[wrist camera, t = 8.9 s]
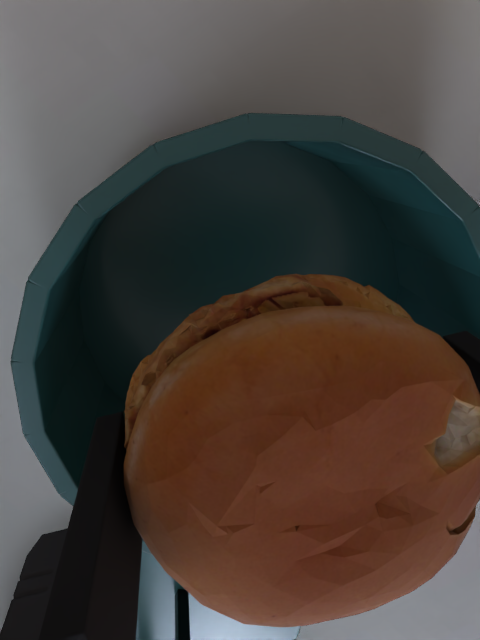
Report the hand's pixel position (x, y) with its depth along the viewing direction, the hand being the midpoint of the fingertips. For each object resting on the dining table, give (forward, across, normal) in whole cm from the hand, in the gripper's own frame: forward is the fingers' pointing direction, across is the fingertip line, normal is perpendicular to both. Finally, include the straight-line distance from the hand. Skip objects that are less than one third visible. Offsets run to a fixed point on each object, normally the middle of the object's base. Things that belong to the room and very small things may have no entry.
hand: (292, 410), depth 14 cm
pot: (+10, 0, 0) cm, 10 cm away
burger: (0, 0, 0) cm, 0 cm away
